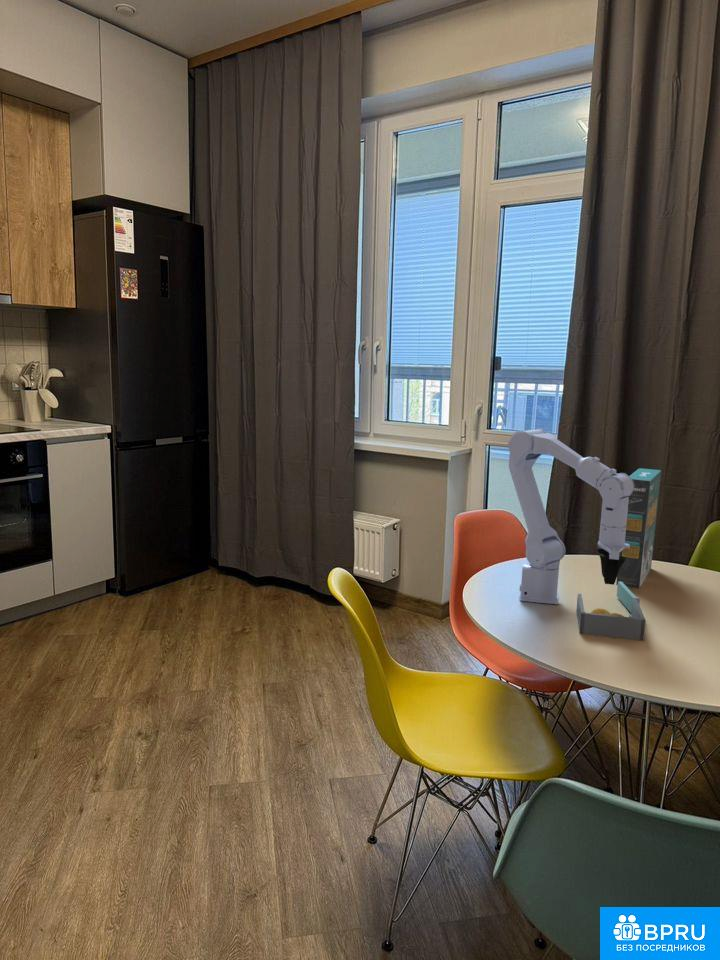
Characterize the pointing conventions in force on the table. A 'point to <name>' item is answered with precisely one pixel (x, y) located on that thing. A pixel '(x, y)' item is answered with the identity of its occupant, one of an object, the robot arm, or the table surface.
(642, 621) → the grey open box
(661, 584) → the table surface
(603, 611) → the bread roll
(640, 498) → the cake mix box
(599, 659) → the table surface
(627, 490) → the robot arm
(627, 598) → the teal flat bar
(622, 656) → the table surface
